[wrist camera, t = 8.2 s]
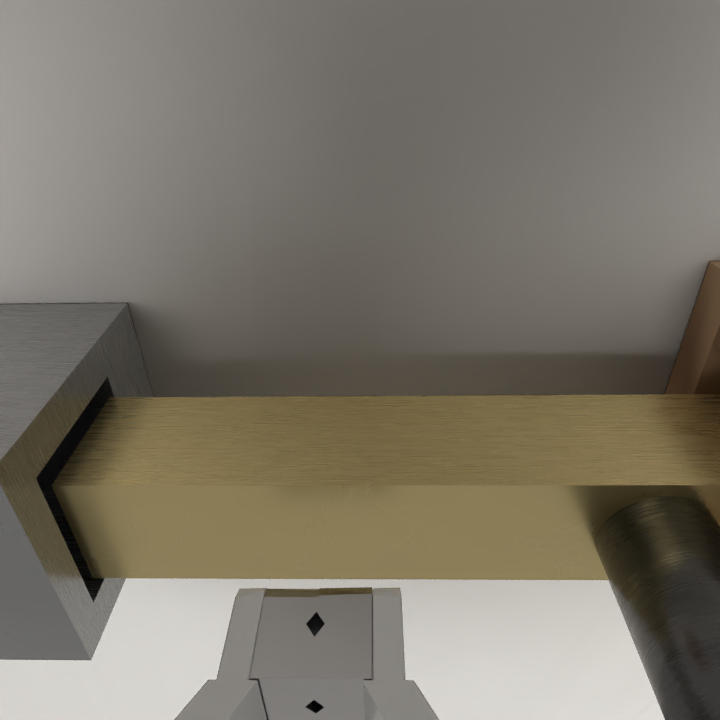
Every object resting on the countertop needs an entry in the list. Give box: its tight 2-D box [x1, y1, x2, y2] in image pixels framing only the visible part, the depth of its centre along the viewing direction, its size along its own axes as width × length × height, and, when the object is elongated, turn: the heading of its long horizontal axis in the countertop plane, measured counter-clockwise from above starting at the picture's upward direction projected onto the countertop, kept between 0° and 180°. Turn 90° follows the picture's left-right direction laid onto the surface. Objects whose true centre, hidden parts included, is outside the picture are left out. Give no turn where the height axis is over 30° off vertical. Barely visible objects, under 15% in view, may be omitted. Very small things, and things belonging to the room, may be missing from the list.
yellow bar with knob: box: [52, 394, 720, 720], centre depth 11 cm, size 3×20×8 cm, turn 91°
